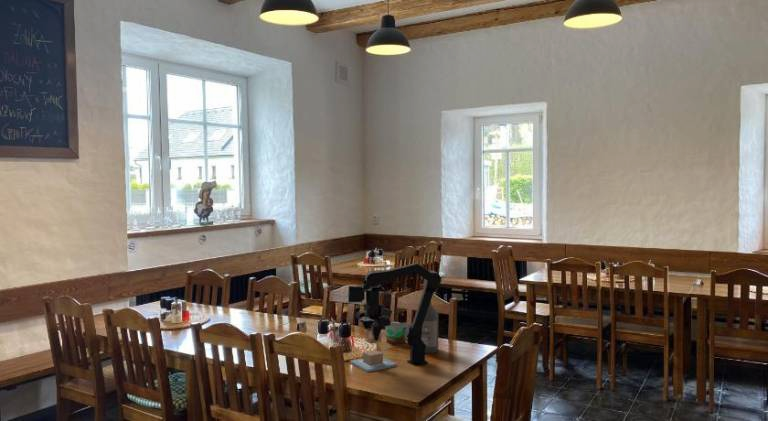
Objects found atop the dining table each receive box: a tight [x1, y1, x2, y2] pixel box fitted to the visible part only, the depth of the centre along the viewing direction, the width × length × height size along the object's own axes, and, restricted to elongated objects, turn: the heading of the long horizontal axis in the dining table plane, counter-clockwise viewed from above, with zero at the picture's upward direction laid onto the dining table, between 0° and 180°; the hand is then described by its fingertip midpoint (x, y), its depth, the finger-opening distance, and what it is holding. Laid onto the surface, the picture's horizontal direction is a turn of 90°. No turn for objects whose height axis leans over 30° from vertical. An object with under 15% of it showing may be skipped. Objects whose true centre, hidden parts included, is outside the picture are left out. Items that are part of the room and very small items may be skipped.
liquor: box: [421, 283, 439, 354], centre depth 270 cm, size 9×9×30 cm
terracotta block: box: [364, 328, 382, 345], centre depth 251 cm, size 5×5×5 cm
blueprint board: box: [349, 349, 397, 373], centre depth 251 cm, size 14×14×5 cm
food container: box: [384, 321, 409, 345], centre depth 283 cm, size 12×6×10 cm, turn 62°
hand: (373, 338), depth 251 cm, fingers closed on terracotta block, 5 cm apart
